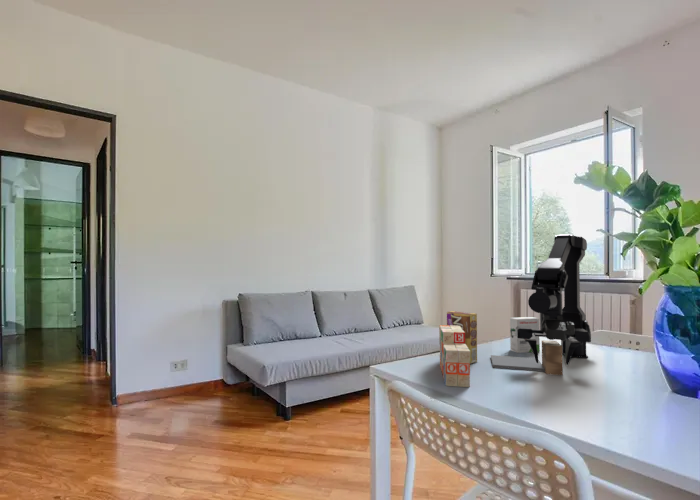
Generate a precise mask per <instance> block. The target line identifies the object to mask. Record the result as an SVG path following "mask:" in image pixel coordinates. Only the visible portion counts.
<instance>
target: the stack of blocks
mask: <svg viewBox="0 0 700 500" xmlns="http://www.w3.org/2000/svg"><path fill="white" fill-rule="evenodd" d="M438 328H439V329H438V330H439V331H438V332H439V339H438V340H439V341H438V342H439V367H440V371H441V373H442V376H443V378H442V379H443V382H444V385H445V386H446V387H459V388H460V387H462V388H470V387H471V380H470V379H471V376H470V375H471V363H470V350H469V349H468V347H467V345H466V344H465V332H464V331H463V330H462V328H461V327H460V326H456V325H450V326H449V325H447V324H445V325H444V324H441V325H439V326H438Z"/></svg>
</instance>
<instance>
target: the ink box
mask: <svg viewBox="0 0 700 500" xmlns="http://www.w3.org/2000/svg"><path fill="white" fill-rule="evenodd" d="M517 326H528V327H530V328H531V329H532V330H540V318H538V317H532V316H523V317H521V316H520V317H509V337H510V339H509V342H510V347H509V348H510V351H512V352H515V353H517V354H522V353H525V354H526V353H533V352H532V349H531V347H530V345H529V343H528V342H526V341H525V340H524V339H520V338H517V336H516V335H515V329H516V327H517ZM535 340H536V341H537V352H538V353H539V352H541V351H540V347H541V346H540V344H541V343H540V336H535Z"/></svg>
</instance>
